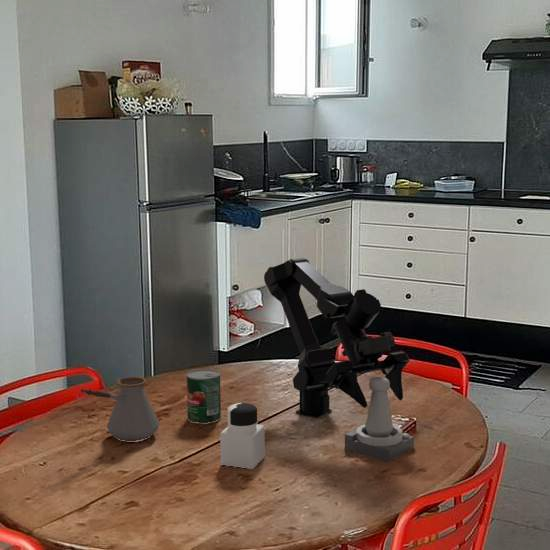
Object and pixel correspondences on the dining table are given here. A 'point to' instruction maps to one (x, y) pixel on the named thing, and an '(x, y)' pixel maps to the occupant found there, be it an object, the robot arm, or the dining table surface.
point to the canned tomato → (203, 395)
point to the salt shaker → (379, 409)
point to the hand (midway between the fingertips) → (384, 403)
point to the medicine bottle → (242, 438)
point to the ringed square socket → (379, 443)
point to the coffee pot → (130, 410)
